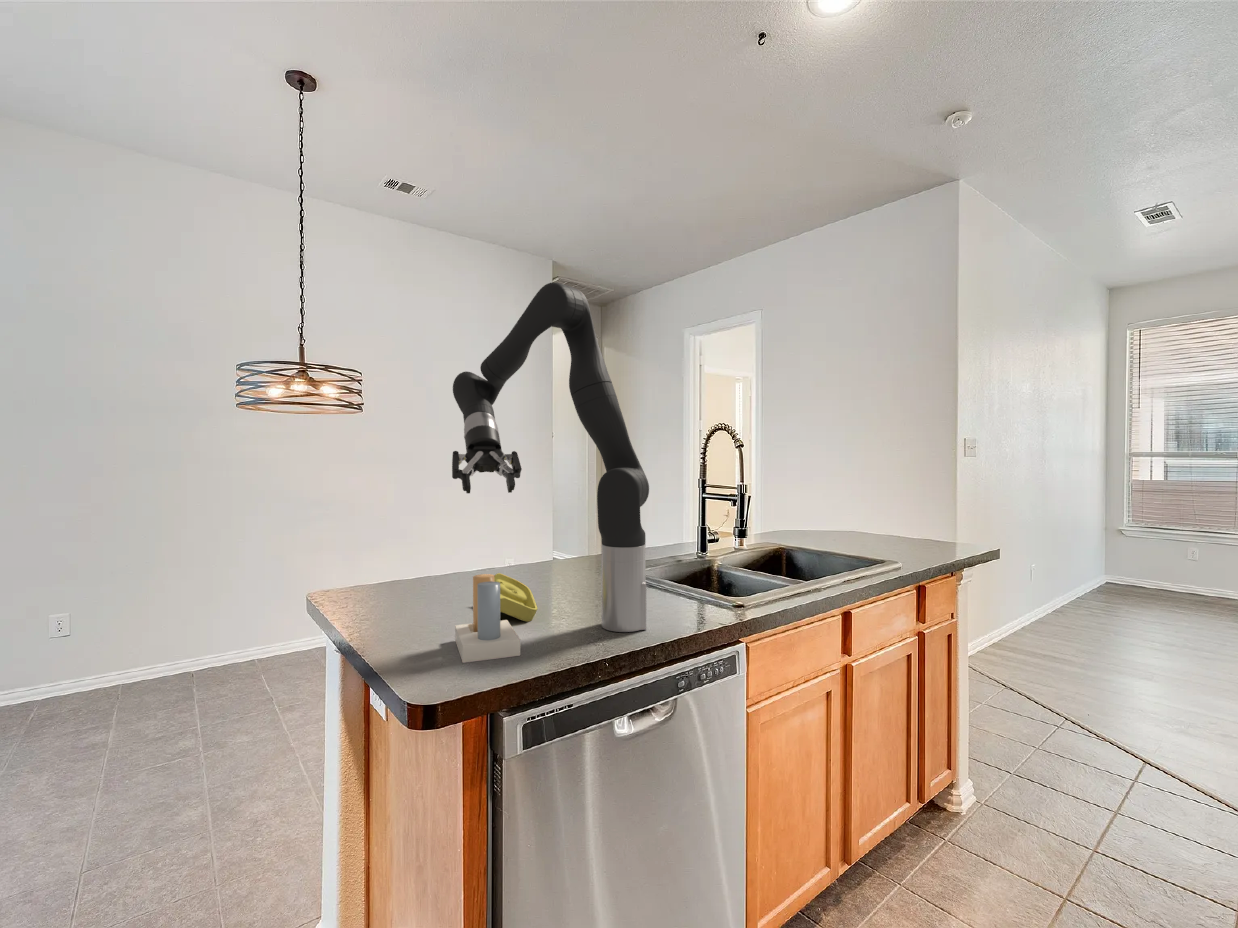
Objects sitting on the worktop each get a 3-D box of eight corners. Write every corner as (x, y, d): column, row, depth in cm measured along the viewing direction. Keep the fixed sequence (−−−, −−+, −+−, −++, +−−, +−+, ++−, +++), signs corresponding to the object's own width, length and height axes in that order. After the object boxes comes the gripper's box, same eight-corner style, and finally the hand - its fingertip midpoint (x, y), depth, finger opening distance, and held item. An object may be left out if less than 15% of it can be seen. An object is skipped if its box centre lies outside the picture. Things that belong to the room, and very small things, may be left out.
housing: (455, 640, 112) (455, 575, 112) (507, 634, 116) (506, 571, 115) (462, 662, 100) (462, 589, 100) (520, 655, 103) (520, 585, 103)
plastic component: (539, 611, 125) (496, 594, 122) (523, 643, 124) (480, 626, 122) (529, 585, 144) (492, 569, 141) (516, 612, 143) (478, 597, 141)
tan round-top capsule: (496, 635, 113) (496, 574, 113) (492, 641, 109) (492, 578, 109) (475, 635, 113) (475, 574, 113) (471, 642, 109) (470, 578, 109)
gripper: (450, 423, 125) (455, 478, 114) (515, 424, 130) (526, 477, 119) (448, 448, 130) (453, 503, 119) (511, 448, 135) (521, 501, 124)
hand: (490, 490), depth 119 cm, fingers open, 8 cm apart
